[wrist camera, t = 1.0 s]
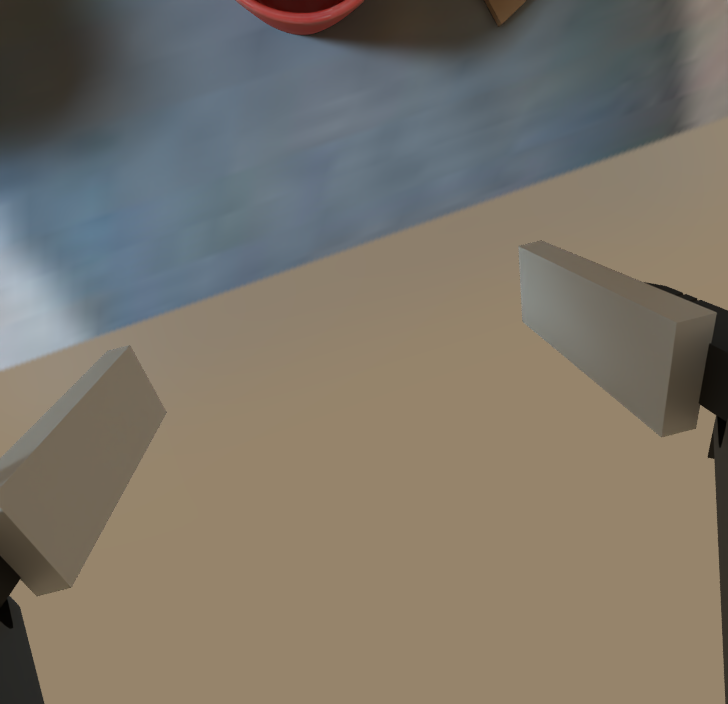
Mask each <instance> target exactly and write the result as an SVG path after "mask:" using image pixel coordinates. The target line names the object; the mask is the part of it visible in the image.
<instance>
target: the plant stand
mask: <svg viewBox="0 0 728 704" xmlns="http://www.w3.org/2000/svg"><path fill="white" fill-rule="evenodd" d="M484 1H485V3H486V5H487V7H488V9H489V10H490V12H491V14H492V16H493V18H494V20H495V21H496V23H497V25H498V27H499V26H500V25H502V24H503V23H504V22H505V21H506V20H507V19H508V18H509V17H510V16H511V15H512V14H513V13H514V12H515V11H516V10H517V9H518V8H519V7H520V6H521V5H523V4H524V3H525V2H526V1H527V0H484Z"/></svg>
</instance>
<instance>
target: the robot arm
mask: <svg viewBox="0 0 728 704" xmlns="http://www.w3.org/2000/svg"><path fill="white" fill-rule="evenodd" d="M519 264H520V283H521V301H522V321H523V322H524V323H525V324H526V325H527V326H529V327H530V328H531V329H532V330H533V331H534V332H536V333H537V334H538V335H539V336H540V337H542V338H543V339H544V340H545V341H546V342H548V343H549V344H550V345H551V346H552V347H554V348H555V349H556V350H557V351H559V352H560V353H561V354H562V355H563V356H564V357H566V358H567V359H568V360H569V361H571V362H572V363H573V364H574V365H575V366H576V367H578V368H579V369H580V370H581V371H582V372H584V373H585V374H586V375H587V376H588V377H590V378H591V379H592V380H593V381H594V382H596V383H597V384H598V385H599V386H600V387H602V388H603V389H604V390H605V391H606V392H608V393H609V394H610V395H611V396H612V397H614V398H615V399H616V400H617V401H618V402H620V403H621V404H622V405H623V406H624V407H626V408H627V409H628V410H629V411H630V412H632V413H633V414H634V415H635V416H636V417H638V418H639V419H640V420H641V421H642V422H644V423H645V424H646V425H647V426H648V427H650V428H651V429H652V430H653V431H654V432H656V433H657V434H658V435H659V436H661V437H665V436H669V435H672V434H676V433H680V432H684V431H688V430H692V429H696V425H697V419H698V414H699V408H700V405H702V406H703V407H705V408H706V409H708V410H709V411H711V412H712V413H714V414H715V415H716V419H715V424H714V429H713V434H712V438H711V443H710V448H709V453H708V458H713V459H714V458H715V480H716V500H717V501H716V502H717V524H718V547H719V569H720V591H721V612H722V635H723V658H724V679H725V702H726V704H728V311H727V310H725V309H722V308H720V307H717V306H715V305H712V304H710V303H707V302H705V301H702V300H699V301H698V300H697V298H694V297H692V296H690V295H687V294H685V295H683V293H682V292H679V291H677V290H674V289H672V288H669V287H667V286H663V285H657V284H651V283H645V282H641V281H639V280H636V279H634V278H631V277H629V276H627V275H624V274H622V273H619V272H617V271H615V270H612V269H609V268H607V267H605V266H602V265H600V264H598V263H595V262H593V261H590V260H588V259H585V258H583V257H581V256H578V255H576V254H573V253H571V252H568V251H566V250H563V249H561V248H558V247H556V246H553V245H551V244H549V243H546V242H544V241H542V240H541V241H537V242H533V243H529V244H525V245H521V246H519ZM166 413H167V412H166V410H165V408H164V406H163V405H162V403H161V401H160V399H159V397H158V396H157V394H156V392H155V390H154V388H153V386H152V384H151V383H150V381H149V379H148V377H147V375H146V374H145V372H144V370H143V368H142V366H141V364H140V363H139V361H138V359H137V357H136V355H135V353H134V351H133V350H132V348H131V346H130V345H129V346H125V347H121V348H117V349H113V350H109V351H107V352H106V353H105V354H104V355H103V356H102V357H101V358H100V359H99V360H98V361H97V362H96V363H95V364H94V365H93V366H92V367H91V368H90V369H89V370H88V371H87V372H86V373H85V374H84V375H83V376H82V377H81V378H80V379H79V380H78V381H77V382H76V383H75V384H74V385H73V386H72V387H71V388H70V389H69V390H68V391H67V392H66V393H65V394H64V395H63V396H62V397H61V398H60V399H59V400H58V401H57V402H56V403H55V404H54V405H53V406H52V407H51V408H50V409H49V410H48V411H47V412H46V413H45V414H44V415H43V416H42V417H41V418H40V419H39V420H38V421H37V422H36V423H35V424H34V425H33V426H32V427H31V428H30V429H29V430H28V431H27V432H26V433H25V434H24V435H23V436H22V437H21V438H20V439H19V440H18V441H17V442H16V443H15V444H14V446H12V447H11V448H10V449H9V450H8V451H7V452H6V453H5V454H4V455H3V456H2V457H1V458H0V704H44V701H43V697H42V693H41V689H40V685H39V681H38V677H37V673H36V669H35V665H34V661H33V657H32V653H31V649H30V645H29V641H28V637H27V633H26V629H25V626H24V621H23V617H22V613H21V609H20V607H19V605H18V604H17V603H16V602H15V601H14V600H13V599H12V598H11V597H10V596H9V595H10V593H11V592H12V590H13V589H14V587H15V586H16V584H17V583H18V581H19V580H20V579H21V580H22V581H23V582H24V583H25V584H26V586H27V587H28V588H29V589H30V590H31V591H32V592H33V593H34V594H35V595H36V596H40V595H44V594H48V593H52V592H56V591H60V590H64V589H67V588H71V587H72V585H73V584H74V582H75V580H76V578H77V576H78V574H79V573H80V571H81V569H82V567H83V565H84V563H85V561H86V560H87V558H88V556H89V554H90V552H91V551H92V549H93V547H94V545H95V543H96V541H97V540H98V538H99V536H100V534H101V532H102V530H103V529H104V527H105V525H106V523H107V521H108V519H109V517H110V516H111V514H112V512H113V510H114V508H115V506H116V505H117V503H118V501H119V499H120V497H121V495H122V494H123V492H124V490H125V488H126V486H127V484H128V483H129V481H130V479H131V477H132V475H133V473H134V472H135V470H136V468H137V466H138V464H139V462H140V460H141V459H142V457H143V455H144V453H145V451H146V449H147V448H148V446H149V444H150V442H151V440H152V439H153V437H154V435H155V433H156V431H157V429H158V428H159V426H160V423H161V422H162V420H163V418H164V417H165V415H166Z"/></svg>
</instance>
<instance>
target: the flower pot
mask: <svg viewBox="0 0 728 704" xmlns="http://www.w3.org/2000/svg"><path fill="white" fill-rule="evenodd" d="M236 1H237V2H238V3H239V4H241V5H242V6H243V7H244V8H246V9H247V10H248V11H250V12H251V13H252V14H254V15H255V16H256V17H258V18H259V19H261V20H262V21H264V22H265V23H267V24H268V25H270V26H272V27H274V28H276V29H279V30H281V31H284V32H287V33H291V34H296V35H308V34H314V33H317V32H320V31H322V30H325V29H327V28H329V27H331V26H332V25H334V24H336V23H337V22H339V21H340V20H342V19H343V18H344V17H346V16H347V15H348V14H350V13H351V12H352V11H354V10H355V9H356V8H357V7H358V6H359V5H360V4H362V3H363V2H364V1H365V0H236Z"/></svg>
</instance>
